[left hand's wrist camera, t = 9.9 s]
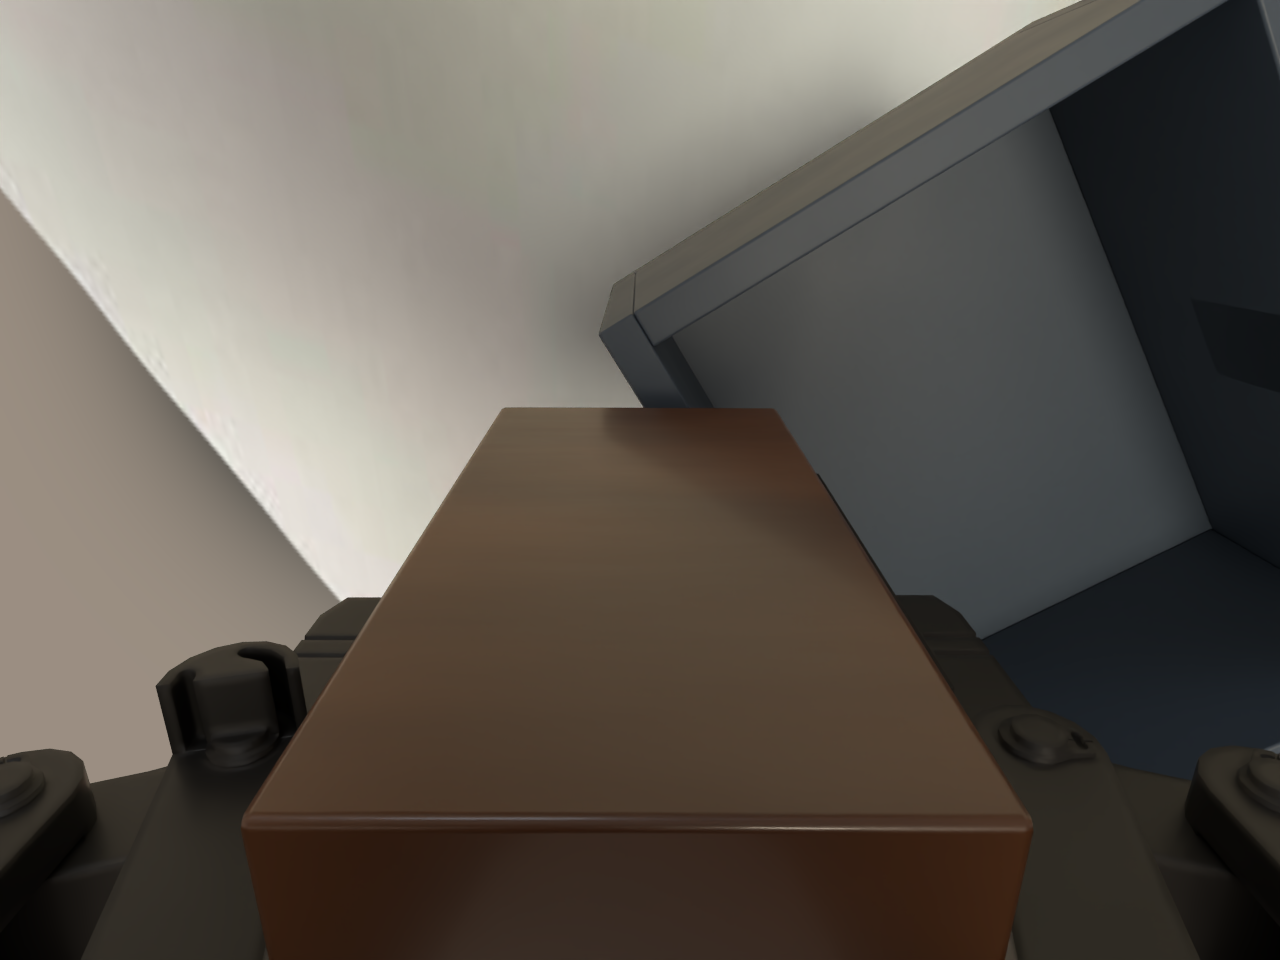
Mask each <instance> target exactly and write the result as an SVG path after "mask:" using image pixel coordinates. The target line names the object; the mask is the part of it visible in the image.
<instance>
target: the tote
mask: <svg viewBox="0 0 1280 960" xmlns="http://www.w3.org/2000/svg"><path fill="white" fill-rule="evenodd" d="M599 337H600V338H601V340H602V341H603V343H604V345H605V346H606V348H607V349H608V351H609V353H610V354H611V356H612V357H613V359H614V361H615V362H616V364H617V365H618V367H619V369H620V370H621V372H622V374H623V375H624V377H625V378H626V380H627V382H628V383H629V385H630V386H631V388H632V390H633V391H634V393H635V394H636V396H637V398H638V399H639V401H640V402H641V404H642V406H643V407H644V408H773V409H775V410H777V412H778V414H779V415H780V417H781V418H782V420H783V422H784V423H785V425H786V426H787V428H788V430H789V431H790V433H791V434H792V436H793V438H794V439H795V441H796V442H797V444H798V446H799V447H800V449H801V450H802V452H803V453H804V455H805V457H806V458H807V460H808V461H809V463H810V465H811V466H812V468H813V469H814V471H815V473H816V474H819V475H820V476H821V478H822V480H823V481H824V483H825V484H826V486H827V487H828V489H829V491H830V492H831V494H832V495H833V497H834V499H835V500H836V502H837V503H838V505H839V506H840V508H841V510H842V511H843V513H844V514H845V516H846V517H847V519H848V521H849V522H850V524H851V525H852V527H853V529H854V530H855V532H856V533H857V535H858V536H859V538H860V540H861V541H862V543H863V544H864V546H865V547H866V549H867V551H868V552H869V554H870V555H871V557H872V558H873V560H874V562H875V563H876V565H877V566H878V568H879V570H880V571H881V573H882V574H883V576H884V577H885V579H886V581H887V582H888V584H889V585H890V587H891V588H892V590H893V592H894V593H895V595H934V596H935V597H937V598H938V599H940V600H941V601H943V602H945V603H946V604H948V605H949V606H951V607H952V608H954V609H955V610H957V611H959V612H960V613H961V614H962V615H963V617H964V618H965V619H966V621H967V622H968V623H969V625H970V626H971V627H972V628H973V630H974V631H975V632H976V637H979V638H980V639H981V640H982V642H983V643H984V644H985V646H986V647H987V648H988V649H989V654H990V655H993V656H994V657H995V659H996V660H997V661H998V663H999V664H1000V665H1001V667H1002V668H1003V669H1004V671H1005V672H1006V673H1007V674H1008V676H1009V677H1010V678H1011V680H1012V681H1013V682H1014V684H1015V685H1016V686H1017V688H1018V689H1019V690H1020V692H1021V693H1022V694H1023V695H1024V697H1025V698H1026V699H1027V701H1028V702H1029V703H1030V705H1031V706H1032V707H1034V708H1038V709H1042V710H1046V711H1050V712H1053V713H1055V714H1057V715H1059V716H1062V717H1064V718H1066V719H1068V720H1071V721H1073V722H1075V723H1076V724H1078V725H1079V726H1081V727H1082V728H1083V729H1085V730H1086V731H1087V732H1089V733H1090V734H1091V735H1093V736H1094V737H1095V738H1096V739H1097V740H1098V742H1099V743H1100V744H1101V746H1102V747H1103V748H1104V750H1105V751H1106V752H1107V754H1108V756H1109V758H1110V760H1111V763H1115V764H1119V765H1122V766H1126V767H1130V768H1134V769H1139V770H1144V771H1149V772H1154V773H1158V774H1163V775H1168V776H1173V777H1178V778H1183V779H1187V780H1192V778H1193V775H1194V772H1195V768H1196V765H1197V762H1198V758H1199V757H1200V756H1201V755H1203V754H1204V753H1205V752H1206V751H1208V750H1209V749H1210V748H1217V747H1224V746H1231V745H1233V746H1242V747H1250V748H1258V749H1263V750H1268V751H1272V752H1274V753H1276V754H1278V753H1279V754H1280V0H1082V1H1079V2H1077V3H1075V4H1073V5H1070V6H1068V7H1066V8H1064V9H1061V10H1059V11H1057V12H1054V13H1052V14H1050V15H1048V16H1046V17H1043V18H1041V19H1038V20H1036V21H1034V22H1032V23H1030V24H1029V25H1027V26H1025V27H1024V28H1022V29H1021V30H1019V31H1017V32H1016V33H1014V34H1013V35H1011V36H1009V37H1008V38H1006V39H1005V40H1003V41H1001V42H1000V43H998V44H997V45H995V46H993V47H992V48H990V49H989V50H987V51H985V52H984V53H982V54H981V55H979V56H977V57H976V58H974V59H973V60H971V61H969V62H968V63H966V64H965V65H963V66H961V67H960V68H958V69H957V70H955V71H954V72H952V73H950V74H949V75H947V76H946V77H944V78H942V79H941V80H939V81H938V82H936V83H934V84H933V85H931V86H930V87H928V88H926V89H925V90H923V91H922V92H920V93H918V94H917V95H915V96H914V97H912V98H910V99H909V100H907V101H906V102H904V103H902V104H901V105H899V106H898V107H896V108H894V109H893V110H891V111H890V112H888V113H886V114H885V115H883V116H882V117H880V118H878V119H877V120H875V121H874V122H872V123H870V124H869V125H867V126H866V127H864V128H863V129H861V130H859V131H858V132H856V133H855V134H853V135H851V136H850V137H848V138H847V139H845V140H843V141H842V142H840V143H839V144H837V145H835V146H834V147H832V148H831V149H829V150H827V151H826V152H824V153H823V154H821V155H819V156H818V157H816V158H815V159H813V160H811V161H810V162H808V163H807V164H805V165H803V166H802V167H800V168H799V169H797V170H795V171H794V172H792V173H791V174H789V175H787V176H786V177H784V178H783V179H781V180H779V181H778V182H776V183H775V184H773V185H772V186H770V187H768V188H767V189H765V190H764V191H762V192H760V193H759V194H757V195H756V196H754V197H752V198H751V199H749V200H748V201H746V202H744V203H743V204H741V205H740V206H738V207H736V208H735V209H733V210H732V211H730V212H728V213H727V214H725V215H724V216H722V217H720V218H719V219H717V220H716V221H714V222H712V223H711V224H709V225H708V226H706V227H704V228H703V229H701V230H700V231H698V232H696V233H695V234H693V235H692V236H690V237H688V238H687V239H685V240H684V241H682V242H681V243H679V244H677V245H676V246H674V247H673V248H671V249H669V250H668V251H666V252H665V253H663V254H661V255H660V256H658V257H657V258H655V259H653V260H652V261H650V262H649V263H647V264H645V265H644V266H642V267H641V268H639V269H637V270H636V271H634V272H633V273H631V274H629V275H628V276H626V277H625V278H623V279H621V280H620V281H618V282H617V283H615V284H614V285H613V288H612V291H611V294H610V298H609V301H608V305H607V308H606V311H605V315H604V318H603V322H602V325H601V329H600V332H599Z"/></svg>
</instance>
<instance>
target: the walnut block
mask: <svg viewBox="0 0 1280 960" xmlns="http://www.w3.org/2000/svg"><path fill="white" fill-rule="evenodd" d="M241 834H242V839H243V843H244V848H245V852H246V857H247V861H248V866H249V870H250V875H251V880H252V884H253V889H254V893H255V898H256V902H257V907H258V911H259V916H260V921H261V925H262V930H263V934H264V939H265V943H266V948H267V952H268V957H269V960H1005V956H1006V952H1007V948H1008V943H1009V939H1010V934H1011V930H1012V925H1013V921H1014V916H1015V912H1016V907H1017V903H1018V898H1019V894H1020V889H1021V885H1022V880H1023V876H1024V872H1025V867H1026V863H1027V858H1028V854H1029V849H1030V845H1031V840H1032V836H1033V823H1032V819H1031V816H1030V814H1029V813H1028V811H1027V809H1026V808H1025V806H1024V805H1023V803H1022V802H1021V800H1020V798H1019V797H1018V795H1017V794H1016V792H1015V790H1014V789H1013V787H1012V786H1011V784H1010V782H1009V781H1008V779H1007V778H1006V776H1005V774H1004V773H1003V771H1002V770H1001V768H1000V766H999V765H998V763H997V762H996V760H995V758H994V757H993V755H992V754H991V752H990V750H989V749H988V747H987V746H986V744H985V742H984V741H983V739H982V738H981V736H980V734H979V733H978V731H977V730H976V728H975V726H974V725H973V723H972V722H971V720H970V718H969V717H968V715H967V714H966V712H965V711H964V709H963V707H962V706H961V704H960V703H959V701H958V699H957V698H956V696H955V695H954V693H953V691H952V690H951V688H950V687H949V685H948V683H947V682H946V680H945V679H944V677H943V675H942V674H941V672H940V671H939V669H938V667H937V666H936V664H935V663H934V661H933V659H932V658H931V656H930V655H929V653H928V651H927V650H926V648H925V647H924V645H923V643H922V642H921V640H920V639H919V637H918V635H917V634H916V632H915V631H914V629H913V627H912V626H911V624H910V623H909V621H908V620H907V618H906V616H905V615H904V613H903V612H902V610H901V608H900V607H899V605H898V604H897V602H896V600H895V599H894V597H893V596H892V594H891V592H890V591H889V589H888V588H887V586H886V584H885V583H884V581H883V580H882V578H881V576H880V575H879V573H878V572H877V570H876V568H875V567H874V565H873V564H872V562H871V560H870V559H869V557H868V556H867V554H866V552H865V551H864V549H863V548H862V546H861V544H860V543H859V541H858V540H857V538H856V537H855V535H854V533H853V532H852V530H851V529H850V527H849V525H848V524H847V522H846V521H845V519H844V517H843V516H842V514H841V513H840V511H839V509H838V508H837V506H836V505H835V503H834V501H833V500H832V498H831V497H830V495H829V493H828V492H827V490H826V489H825V487H824V485H823V484H822V482H821V481H820V479H819V477H818V476H817V474H816V473H815V471H814V469H813V468H812V466H811V465H810V463H809V461H808V460H807V458H806V457H805V455H804V453H803V452H802V450H801V449H800V447H799V446H798V444H797V442H796V441H795V439H794V438H793V436H792V434H791V433H790V431H789V430H788V428H787V426H786V425H785V423H784V422H783V420H782V418H781V417H780V415H779V414H778V412H777V410H775V409H773V408H503V409H502V410H501V411H500V413H499V414H498V416H497V418H496V419H495V421H494V422H493V424H492V425H491V427H490V429H489V430H488V432H487V433H486V435H485V436H484V438H483V440H482V441H481V443H480V444H479V446H478V447H477V449H476V451H475V452H474V454H473V455H472V457H471V458H470V460H469V462H468V463H467V465H466V466H465V468H464V469H463V471H462V472H461V474H460V476H459V477H458V479H457V480H456V482H455V483H454V485H453V487H452V488H451V490H450V491H449V493H448V494H447V496H446V498H445V499H444V501H443V502H442V504H441V505H440V507H439V509H438V510H437V512H436V513H435V515H434V516H433V518H432V520H431V521H430V523H429V524H428V526H427V527H426V529H425V530H424V532H423V534H422V535H421V537H420V538H419V540H418V541H417V543H416V545H415V546H414V548H413V549H412V551H411V552H410V554H409V556H408V557H407V559H406V560H405V562H404V563H403V565H402V567H401V568H400V570H399V571H398V573H397V574H396V576H395V578H394V579H393V581H392V582H391V584H390V585H389V587H388V588H387V590H386V592H385V593H384V595H383V596H382V598H381V599H380V601H379V603H378V604H377V606H376V607H375V609H374V610H373V612H372V614H371V615H370V617H369V618H368V620H367V621H366V623H365V625H364V626H363V628H362V629H361V631H360V632H359V634H358V636H357V637H356V639H355V640H354V642H353V643H352V645H351V647H350V648H349V650H348V651H347V653H346V654H345V656H344V657H343V659H342V661H341V662H340V664H339V665H338V667H337V668H336V670H335V672H334V673H333V675H332V676H331V678H330V679H329V681H328V683H327V684H326V686H325V687H324V689H323V690H322V692H321V694H320V695H319V697H318V698H317V700H316V701H315V703H314V705H313V706H312V708H311V709H310V711H309V712H308V714H307V715H306V717H305V719H304V720H303V722H302V723H301V725H300V726H299V728H298V730H297V731H296V733H295V734H294V736H293V737H292V739H291V741H290V742H289V744H288V745H287V747H286V748H285V750H284V752H283V753H282V755H281V756H280V758H279V759H278V761H277V763H276V764H275V766H274V767H273V769H272V770H271V772H270V773H269V775H268V777H267V778H266V780H265V781H264V783H263V784H262V786H261V788H260V789H259V791H258V792H257V794H256V795H255V797H254V799H253V800H252V802H251V803H250V805H249V806H248V808H247V810H246V811H245V813H244V815H243V818H242V821H241Z"/></svg>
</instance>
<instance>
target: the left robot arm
mask: <svg viewBox="0 0 1280 960" xmlns="http://www.w3.org/2000/svg"><path fill="white" fill-rule="evenodd" d="M817 476H818V477H819V479H820V481H821V482H822V484H823V485H824V487H825V489H826V490H827V492H828V493H829V495H830V497H831V498H832V500H833V501H834V503H835V505H836V506H837V508H838V509H839V511H840V513H841V514H842V516H843V517H844V519H845V521H846V522H847V524H848V525H849V527H850V529H851V530H852V532H853V533H854V535H855V537H856V538H857V540H858V541H859V543H860V544H861V546H862V548H863V549H864V551H865V552H866V554H867V556H868V557H869V559H870V560H871V562H872V564H873V565H874V567H875V568H876V570H877V572H878V573H879V575H880V576H881V578H882V580H883V581H884V583H885V584H886V586H887V588H888V589H889V591H890V592H891V594H892V596H893V597H894V599H895V600H896V602H897V604H898V605H899V607H900V608H901V610H902V612H903V613H904V615H905V616H906V618H907V620H908V621H909V623H910V624H911V626H912V627H913V629H914V631H915V632H916V634H917V635H918V637H919V639H920V640H921V642H922V643H923V645H924V647H925V648H926V650H927V651H928V653H929V655H930V656H931V658H932V659H933V661H934V663H935V664H936V666H937V667H938V669H939V671H940V672H941V674H942V675H943V677H944V679H945V680H946V682H947V683H948V685H949V687H950V688H951V690H952V691H953V693H954V695H955V696H956V698H957V699H958V701H959V703H960V704H961V706H962V707H963V709H964V711H965V712H966V714H967V715H968V717H969V718H970V720H971V722H972V723H973V725H974V726H975V728H976V730H977V731H978V733H979V734H980V736H981V738H982V739H983V741H984V742H985V744H986V746H987V747H988V749H989V750H990V752H991V754H992V755H993V757H994V758H995V760H996V762H997V763H998V765H999V766H1000V768H1001V770H1002V771H1003V773H1004V774H1005V776H1006V778H1007V779H1008V781H1009V782H1010V784H1011V786H1012V787H1013V789H1014V790H1015V792H1016V794H1017V795H1018V797H1019V798H1020V800H1021V802H1022V803H1023V805H1024V806H1025V808H1026V809H1027V811H1028V813H1029V814H1030V816H1031V819H1032V823H1033V836H1032V840H1031V845H1030V849H1029V854H1028V858H1027V863H1026V867H1025V872H1024V876H1023V880H1022V885H1021V889H1020V894H1019V898H1018V903H1017V907H1016V912H1015V916H1014V921H1013V925H1012V930H1011V934H1010V939H1009V943H1008V948H1007V952H1006V956H1005V960H1280V754H1279V753H1278V754H1276V753H1274V752H1272V751H1268V750H1263V749H1258V748H1250V747H1242V746H1233V745H1231V746H1224V747H1217V748H1210V749H1209V750H1208V751H1206V752H1205V753H1204V754H1203V755H1201V756H1200V757H1199V758H1198V762H1197V765H1196V768H1195V772H1194V775H1193V778H1192V780H1187V779H1183V778H1178V777H1173V776H1168V775H1163V774H1158V773H1154V772H1149V771H1144V770H1139V769H1134V768H1130V767H1126V766H1122V765H1119V764H1115V763H1111V760H1110V758H1109V756H1108V754H1107V752H1106V751H1105V750H1104V748H1103V747H1102V746H1101V744H1100V743H1099V742H1098V740H1097V739H1096V738H1095V737H1094V736H1093V735H1091V734H1090V733H1089V732H1087V731H1086V730H1085V729H1083V728H1082V727H1081V726H1079V725H1078V724H1076V723H1075V722H1073V721H1071V720H1068V719H1066V718H1064V717H1062V716H1059V715H1057V714H1055V713H1053V712H1050V711H1046V710H1042V709H1038V708H1034V707H1032V706H1031V705H1030V703H1029V702H1028V701H1027V699H1026V698H1025V697H1024V695H1023V694H1022V693H1021V692H1020V690H1019V689H1018V688H1017V686H1016V685H1015V684H1014V682H1013V681H1012V680H1011V678H1010V677H1009V676H1008V674H1007V673H1006V672H1005V671H1004V669H1003V668H1002V667H1001V665H1000V664H999V663H998V661H997V660H996V659H995V657H994V656H993V655H990V654H989V649H988V648H987V647H986V646H985V644H984V643H983V642H982V640H981V639H980V638H979V637H976V632H975V631H974V630H973V628H972V627H971V626H970V625H969V623H968V622H967V621H966V619H965V618H964V617H963V615H962V614H961V613H960V612H959V611H957V610H955V609H954V608H952V607H951V606H949V605H948V604H946V603H945V602H943V601H941V600H940V599H938V598H937V597H935V596H934V595H895V593H894V592H893V590H892V588H891V587H890V585H889V584H888V582H887V581H886V579H885V577H884V576H883V574H882V573H881V571H880V570H879V568H878V566H877V565H876V563H875V562H874V560H873V558H872V557H871V555H870V554H869V552H868V551H867V549H866V547H865V546H864V544H863V543H862V541H861V540H860V538H859V536H858V535H857V533H856V532H855V530H854V529H853V527H852V525H851V524H850V522H849V521H848V519H847V517H846V516H845V514H844V513H843V511H842V510H841V508H840V506H839V505H838V503H837V502H836V500H835V499H834V497H833V495H832V494H831V492H830V491H829V489H828V487H827V486H826V484H825V483H824V481H823V480H822V478H821V476H820V475H819V474H817ZM380 599H381V598H346V599H345V600H343V601H342V602H340V603H339V604H337V605H336V606H334V607H332V608H331V609H329V610H328V611H326V612H325V613H323V614H322V615H320V617H319V618H318V619H317V621H316V622H315V623H314V624H313V626H312V627H311V629H310V630H309V631H308V633H307V634H306V635H305V640H302V641H301V642H300V643H299V644H298V646H297V647H296V648H295V650H294V651H292V650H291V649H290V648H288V647H287V646H285V645H281V644H276V643H272V642H267V641H265V642H241V643H236V644H231V645H227V646H222V647H217V648H214V649H211V650H209V651H206V652H204V653H201V654H198V655H196V656H193V657H191V658H189V659H187V660H186V661H184V662H183V663H181V664H179V665H178V666H176V667H175V668H173V669H171V670H170V671H169V672H168V673H167V674H166V675H165V676H164V677H163V678H162V679H161V681H160V682H159V683H158V684H157V685H156V689H157V693H158V697H159V701H160V705H161V709H162V713H163V717H164V721H165V725H166V729H167V733H168V737H169V741H170V745H171V749H172V753H173V755H172V757H171V760H170V762H169V764H168V766H167V767H163V768H160V769H156V770H152V771H148V772H144V773H139V774H134V775H129V776H124V777H119V778H115V779H110V780H105V781H100V782H95V783H91V784H90V783H89V779H88V776H87V773H86V769H85V766H84V763H83V761H82V760H81V759H80V758H79V757H77V756H76V755H75V754H73V753H72V752H69V751H62V750H55V749H43V750H35V751H27V752H20V753H16V754H12V755H8V756H7V757H1V758H0V960H269V957H268V952H267V948H266V943H265V939H264V934H263V930H262V925H261V921H260V916H259V911H258V907H257V902H256V898H255V893H254V889H253V884H252V880H251V875H250V870H249V866H248V861H247V857H246V852H245V848H244V843H243V839H242V834H241V821H242V818H243V815H244V813H245V811H246V810H247V808H248V806H249V805H250V803H251V802H252V800H253V799H254V797H255V795H256V794H257V792H258V791H259V789H260V788H261V786H262V784H263V783H264V781H265V780H266V778H267V777H268V775H269V773H270V772H271V770H272V769H273V767H274V766H275V764H276V763H277V761H278V759H279V758H280V756H281V755H282V753H283V752H284V750H285V748H286V747H287V745H288V744H289V742H290V741H291V739H292V737H293V736H294V734H295V733H296V731H297V730H298V728H299V726H300V725H301V723H302V722H303V720H304V719H305V717H306V715H307V714H308V712H309V711H310V709H311V708H312V706H313V705H314V703H315V701H316V700H317V698H318V697H319V695H320V694H321V692H322V690H323V689H324V687H325V686H326V684H327V683H328V681H329V679H330V678H331V676H332V675H333V673H334V672H335V670H336V668H337V667H338V665H339V664H340V662H341V661H342V659H343V657H344V656H345V654H346V653H347V651H348V650H349V648H350V647H351V645H352V643H353V642H354V640H355V639H356V637H357V636H358V634H359V632H360V631H361V629H362V628H363V626H364V625H365V623H366V621H367V620H368V618H369V617H370V615H371V614H372V612H373V610H374V609H375V607H376V606H377V604H378V603H379V601H380Z"/></svg>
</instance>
